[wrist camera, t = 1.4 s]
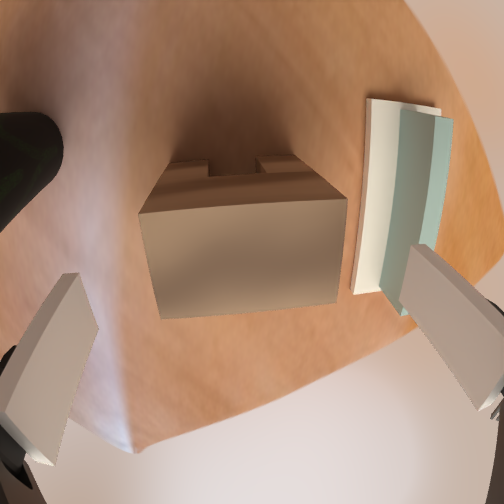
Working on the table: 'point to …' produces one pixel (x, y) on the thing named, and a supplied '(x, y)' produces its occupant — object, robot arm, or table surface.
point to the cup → (26, 159)
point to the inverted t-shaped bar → (399, 192)
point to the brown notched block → (243, 238)
